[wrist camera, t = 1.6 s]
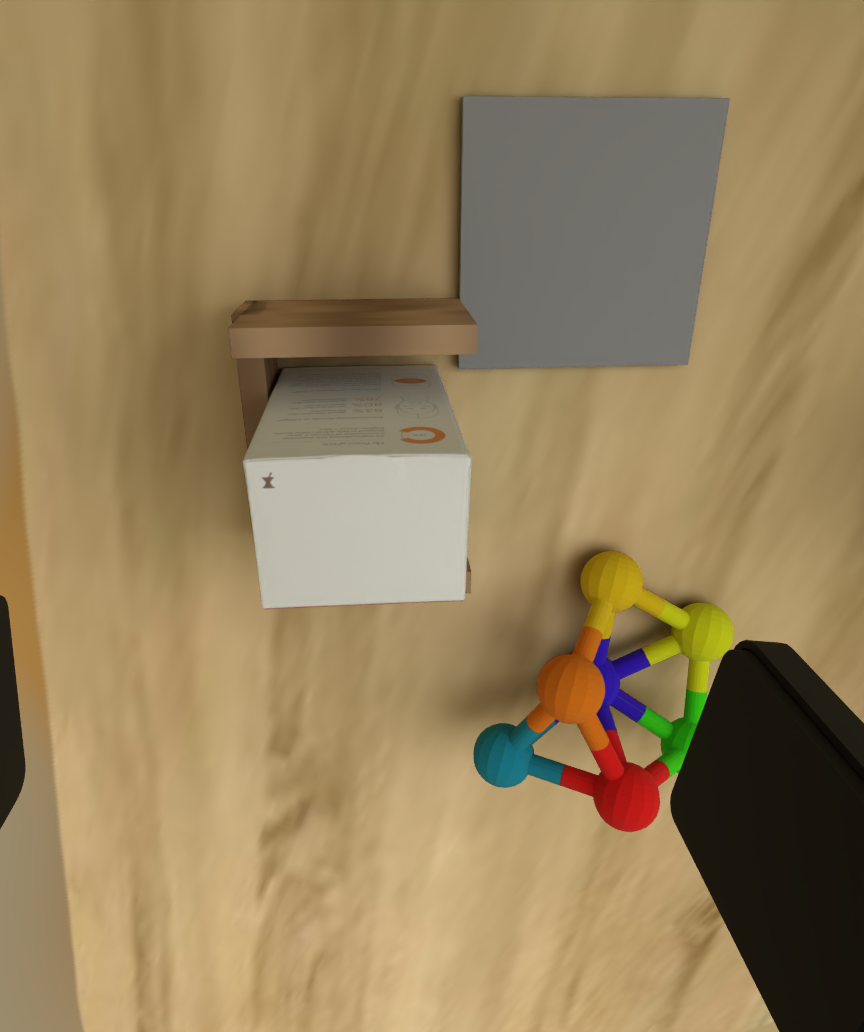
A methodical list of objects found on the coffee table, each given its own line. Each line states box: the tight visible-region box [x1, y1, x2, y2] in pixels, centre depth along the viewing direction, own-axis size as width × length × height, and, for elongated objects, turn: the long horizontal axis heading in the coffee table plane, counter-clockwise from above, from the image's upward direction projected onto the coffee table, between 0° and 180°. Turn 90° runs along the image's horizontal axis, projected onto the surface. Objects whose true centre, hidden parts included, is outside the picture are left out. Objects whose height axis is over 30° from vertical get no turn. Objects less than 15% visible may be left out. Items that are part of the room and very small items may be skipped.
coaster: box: [458, 96, 730, 369], centre depth 34 cm, size 12×12×1 cm
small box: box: [242, 365, 472, 609], centre depth 32 cm, size 8×6×13 cm
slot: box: [228, 298, 478, 593], centre depth 34 cm, size 10×13×7 cm
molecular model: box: [474, 551, 734, 832], centre depth 41 cm, size 15×10×15 cm
